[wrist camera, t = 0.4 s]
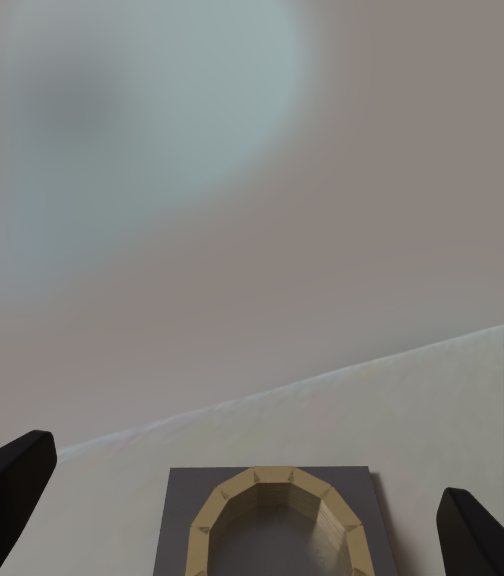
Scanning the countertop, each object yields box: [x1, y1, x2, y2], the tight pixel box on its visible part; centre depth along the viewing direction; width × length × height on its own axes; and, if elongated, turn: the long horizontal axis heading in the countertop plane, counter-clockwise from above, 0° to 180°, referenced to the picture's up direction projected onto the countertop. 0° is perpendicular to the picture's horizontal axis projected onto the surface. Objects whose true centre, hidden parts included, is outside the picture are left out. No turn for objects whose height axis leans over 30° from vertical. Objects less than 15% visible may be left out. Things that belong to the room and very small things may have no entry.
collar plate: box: [153, 466, 399, 576], centre depth 21 cm, size 12×13×3 cm
